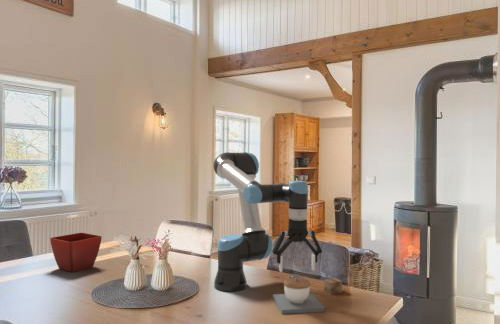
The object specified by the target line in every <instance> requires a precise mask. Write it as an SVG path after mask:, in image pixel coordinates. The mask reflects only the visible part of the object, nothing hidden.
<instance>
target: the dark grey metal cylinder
mask: <svg viewBox="0 0 500 324" xmlns="http://www.w3.org/2000/svg"><path fill="white" fill-rule="evenodd" d="M290 278H301V279H302V276H301V275H300V274H294V273H293V274H290V275H289V279H290Z"/></svg>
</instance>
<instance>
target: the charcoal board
mask: <svg viewBox="0 0 500 324" xmlns="http://www.w3.org/2000/svg"><path fill="white" fill-rule="evenodd" d="M272 299H273V301H274V303H275V305H276V306H277V308H278V310H279V311H280V313H281V314H282V315H285V314H301V313H302V314H304V313H321V312H323V313H324V312H325V306H324V305H323V304H322V303H321V301H319V300H318V298H317V297H316V296H315V295H314V293H312V292H309V296H308V298H307V299H306V300H305V301H304V303H300V304H295V303H291V302H290V301H289V299H288V298H287V297H286V295H285V293H276V294H274V293H273V294H272Z"/></svg>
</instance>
